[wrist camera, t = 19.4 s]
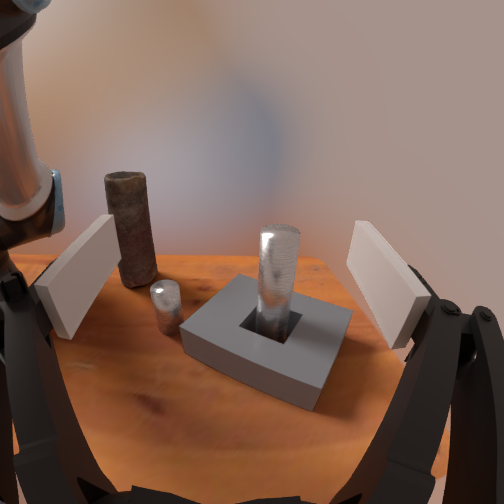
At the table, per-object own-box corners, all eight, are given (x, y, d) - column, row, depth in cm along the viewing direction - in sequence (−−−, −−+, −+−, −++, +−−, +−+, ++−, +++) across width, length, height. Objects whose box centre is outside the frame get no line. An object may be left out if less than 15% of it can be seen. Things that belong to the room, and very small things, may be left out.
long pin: (249, 351, 35) (253, 234, 27) (263, 333, 38) (271, 221, 30) (276, 362, 33) (291, 244, 25) (288, 343, 37) (305, 229, 28)
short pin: (153, 327, 38) (144, 290, 35) (170, 313, 41) (164, 276, 38) (172, 339, 36) (164, 300, 33) (190, 323, 39) (185, 285, 36)
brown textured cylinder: (132, 266, 53) (117, 169, 43) (164, 269, 52) (153, 167, 43) (115, 287, 46) (93, 180, 37) (149, 292, 46) (132, 178, 36)
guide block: (184, 352, 34) (179, 326, 32) (239, 299, 45) (239, 273, 43) (311, 411, 27) (321, 388, 24) (344, 336, 38) (353, 310, 35)
